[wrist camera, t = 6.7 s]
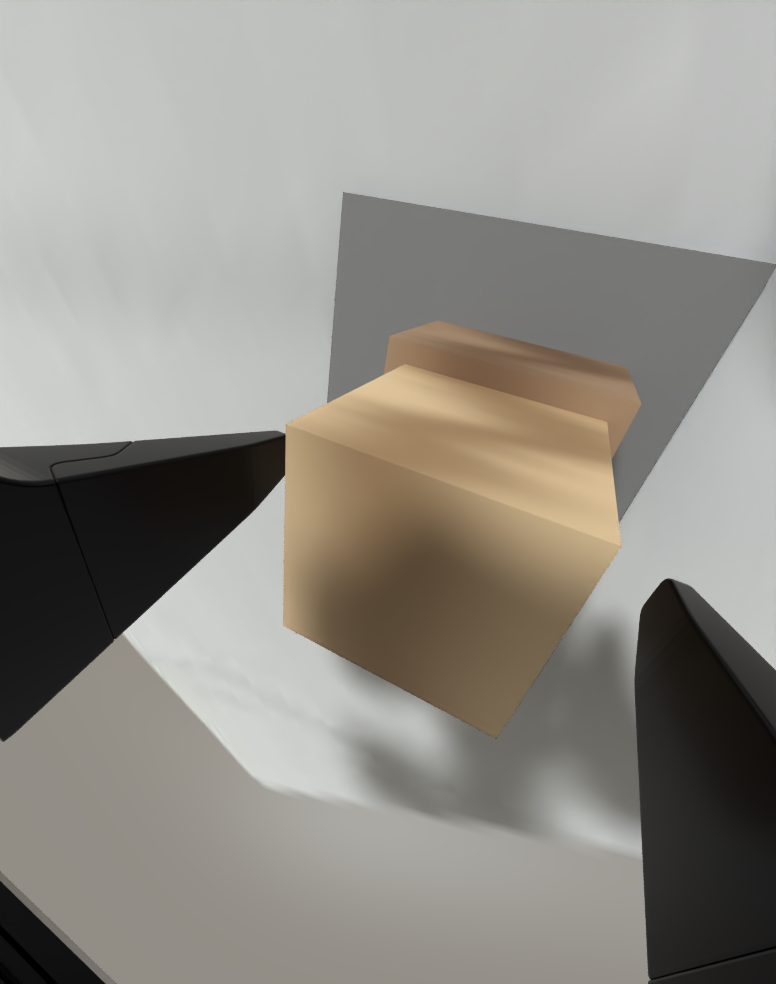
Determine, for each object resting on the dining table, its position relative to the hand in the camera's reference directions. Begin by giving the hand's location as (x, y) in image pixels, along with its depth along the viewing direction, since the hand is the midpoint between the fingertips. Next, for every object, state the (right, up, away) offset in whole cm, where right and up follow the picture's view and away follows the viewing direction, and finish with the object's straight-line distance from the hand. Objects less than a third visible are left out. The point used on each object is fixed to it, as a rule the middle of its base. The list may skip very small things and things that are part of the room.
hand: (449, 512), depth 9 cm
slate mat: (+2, +4, +5) cm, 7 cm away
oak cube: (+1, +1, +2) cm, 2 cm away
